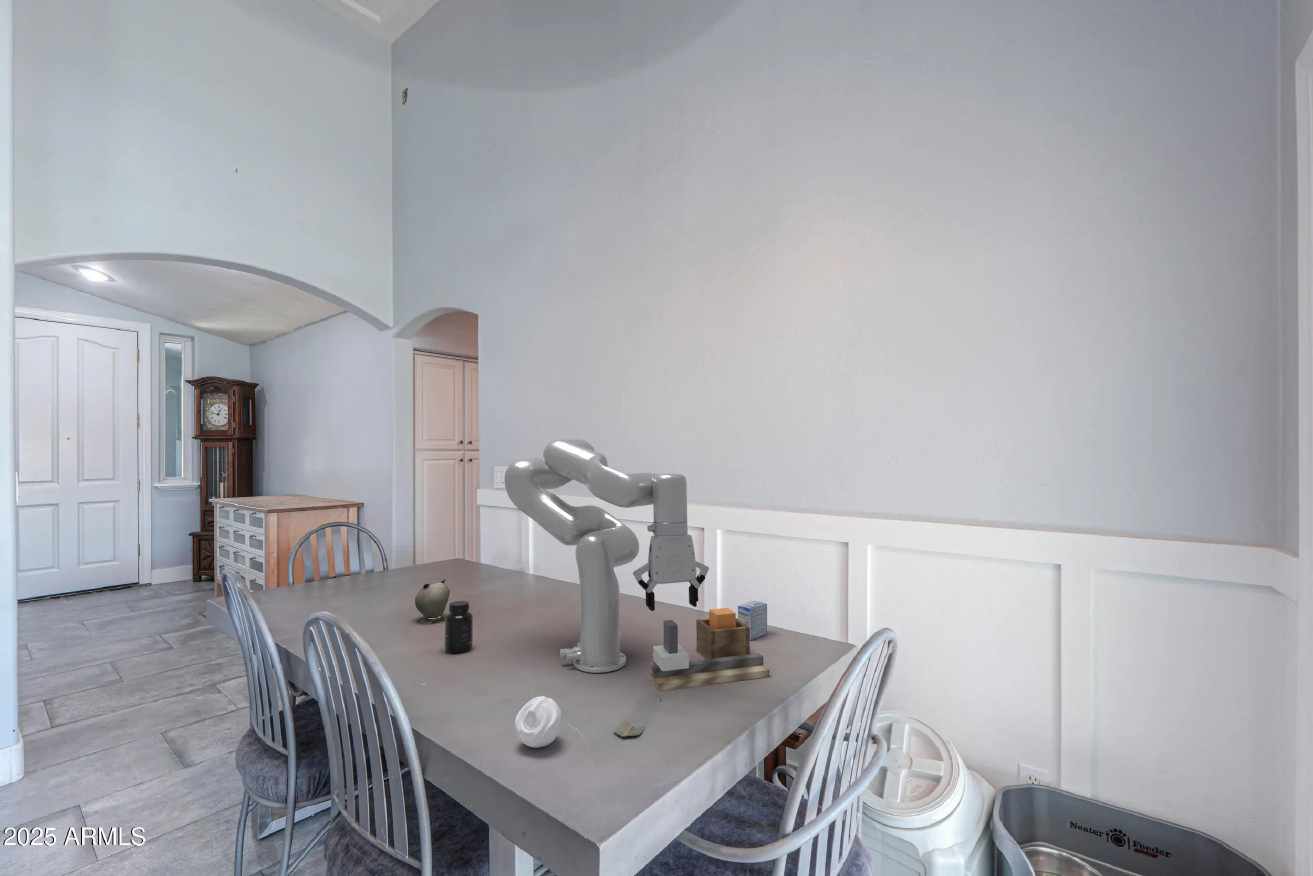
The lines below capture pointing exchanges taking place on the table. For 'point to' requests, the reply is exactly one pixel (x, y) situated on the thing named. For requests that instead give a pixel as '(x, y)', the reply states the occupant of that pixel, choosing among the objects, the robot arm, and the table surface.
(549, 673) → the table surface
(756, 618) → the medicine box
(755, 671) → the rail base
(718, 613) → the plunger
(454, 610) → the supplement bottle
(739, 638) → the brown wooden box
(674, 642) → the carriage
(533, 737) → the white carved ovoid
